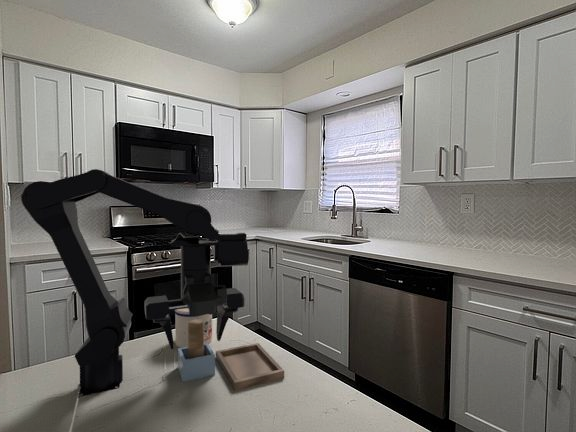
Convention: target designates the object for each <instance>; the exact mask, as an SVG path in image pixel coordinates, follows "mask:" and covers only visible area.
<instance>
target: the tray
mask: <svg viewBox="0 0 576 432" xmlns="http://www.w3.org/2000/svg"><path fill="white" fill-rule="evenodd" d="M215 360H217V362H218V364H219V367H220V368H221V369H222V371H223V373H224V374H225V376H226V379H228V382H229V384H230V385H231V386H232V388H233V390H234V391H238V390H243V389H246V388H251V387H254V386H258V385H261V384H265V383H266V384H267V383H270V382H273V381H278V380H281V379H285V370H284V369H283V368H282V366H281V365H280V364H279V363H278V362H277V361H276V360H275V359H274V358H273V357H272V356H271V355H270V353H269V352H267V350H265V348H264V347H263V346H262V345H261V344H260V343H259V342H256V343H251V344H244V345H240V346H235V347H231V348H225V349H220V350H215Z"/></svg>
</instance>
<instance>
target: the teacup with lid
mask: <svg viewBox="0 0 576 432" xmlns="http://www.w3.org/2000/svg"><path fill="white" fill-rule="evenodd" d="M173 312H174V315H175V326H174V327H175V328H174V329H175V337H174V339H175V342H174V344H175V346H176V347H178V348H184V347H188V322H189V321H191V320H196V319H200V320H203V321H204V344H206V343H208V344H209V345H210V344H211V343H212V341H213V314H211V315H209V314H205V315H199V316H197V317H193V316H191V315H190V314H189V309H188V308H184V309H177V310H173Z"/></svg>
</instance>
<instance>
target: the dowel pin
mask: <svg viewBox="0 0 576 432" xmlns="http://www.w3.org/2000/svg"><path fill="white" fill-rule="evenodd" d="M202 356H204V321H203V320H200V319H196V320H191V321H189V322H188V359H192V358H197V357H202Z"/></svg>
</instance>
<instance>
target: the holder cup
mask: <svg viewBox="0 0 576 432" xmlns="http://www.w3.org/2000/svg"><path fill="white" fill-rule="evenodd" d="M177 368H178V373H179V376H180V379H181V382H182V383H185V382H189V381H194V380H198V379H202V378H207V377H211V376H215V375H216V353H215V352H214V351H213V349H212V348H211V345H210V344H208V343H206V344H204V356H202V357H197V358H192V359H188V347H184V348H180V347H178V348H177Z"/></svg>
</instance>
